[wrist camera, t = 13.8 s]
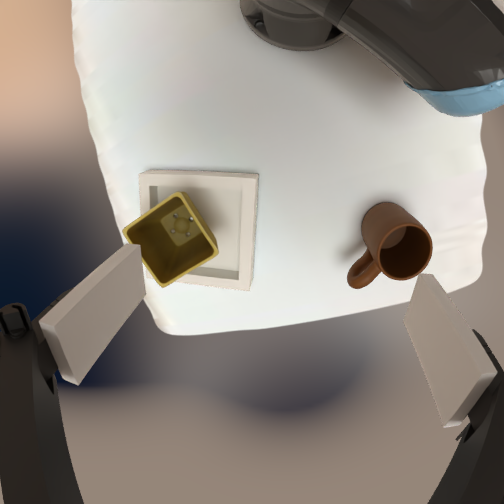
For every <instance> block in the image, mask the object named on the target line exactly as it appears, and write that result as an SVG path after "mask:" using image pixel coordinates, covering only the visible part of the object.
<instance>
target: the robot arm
mask: <svg viewBox="0 0 504 504" xmlns="http://www.w3.org/2000/svg"><path fill="white" fill-rule="evenodd" d="M240 8H241V11H242V14H243V16H244V18H245V20H246V22H247V24H248V25H249V27H250V28H251V29H252V30H253V31H254V32H255V33H256V34H257V35H258V36H259V37H260V38H262V39H263V40H265V41H267V42H268V43H270V44H273V45H275V46H278V47H281V48H284V49H288V50H295V51H311V50H317V49H321V48H325V47H327V46H330V45H332V44H334V43H336V42H337V41H339V40H340V39H341V38H342V37H344V36H345V35H346V34H347V35H348V36H349V37H351V38H352V39H354V40H355V41H356V42H358V43H359V44H360V45H362V46H363V47H364V48H366V49H367V50H368V51H369V52H371V53H372V54H373V55H375V56H376V57H377V58H378V59H379V60H381V61H382V62H383V63H384V64H386V65H387V66H388V67H389V68H390V69H391V70H393V71H394V72H395V73H396V74H397V75H398V76H399V77H401V78H402V79H403V80H404V83H405V84H406V85H407V86H408V87H409V88H410V89H411V90H413V91H415V92H417V93H418V94H420V95H421V96H422V97H423V98H424V99H425V100H426V101H427V102H428V103H429V104H430V105H431V106H432V107H434V108H435V109H436V110H438V111H439V112H441V113H445V114H447V115H450V116H454V117H469V116H475V115H479V114H482V113H485V112H488V111H491V110H493V109H495V108H497V107H500V106H501V105H503V104H504V0H240ZM145 295H146V290H145V282H144V274H143V266H142V257H141V248H140V245H137V244H125V245H124V246H123V247H122V248H120V250H118V251H117V252H116V253H114V254H113V255H112V256H111V257H110V258H108V259H107V260H106V261H105V262H104V263H102V264H101V265H100V266H99V267H98V268H97V269H95V270H94V271H93V272H92V273H91V274H90V275H89V276H87V277H86V278H85V279H84V280H83V281H82V282H81V283H79V284H78V285H77V286H76V287H75V288H72V289H70V290H68V291H66V292H64V293H62V294H61V295H60V296H59V297H58V298H57V299H56V301H53V302H52V303H51V304H50V306H48V307H47V308H46V309H45V310H44V311H43V312H42V313H41V314H39V315H38V316H37V317H36V318H35V319H34V320H33V321H32V322H31V321H30V318H29V316H28V314H27V310H26V308H25V306H24V305H23V304H20V303H12V304H9V305H6V306H5V307H3V308H1V310H0V329H1V331H2V332H0V479H1V487H2V494H3V500H4V504H84V502H83V499H82V496H81V493H80V490H79V487H78V484H77V481H76V477H75V473H74V470H73V467H72V463H71V459H70V454H69V451H68V446H67V442H66V437H65V432H64V427H63V422H62V416H61V410H60V404H59V397H58V389H57V382H56V378H55V376H54V373H55V371H56V370H57V369H59V371H60V373H61V375H62V377H63V379H64V380H67V381H69V382H72V383H74V384H77V385H79V384H80V382H81V381H82V379H83V378H84V377H85V375H86V374H87V372H88V371H89V370H90V368H91V367H92V365H93V364H94V363H95V361H96V360H97V358H98V357H99V356H100V354H101V353H102V352H103V350H104V349H105V347H106V346H107V345H108V343H109V342H110V341H111V339H112V338H113V337H114V335H115V334H116V333H117V331H118V330H119V329H120V327H121V326H122V325H123V324H124V322H125V321H126V320H127V318H128V317H129V316H130V314H131V313H132V312H133V310H134V309H135V308H136V307H137V305H138V304H139V303H140V301H141V300H142V299H143V298H144V296H145ZM403 323H404V325H405V327H406V330H407V332H408V334H409V337H410V339H411V341H412V344H413V345H414V349H415V351H416V353H417V355H418V358H419V361H420V363H421V366H422V368H423V371H424V374H425V376H426V379H427V382H428V384H429V387H430V390H431V392H432V395H433V398H434V401H435V404H436V407H437V410H438V412H439V416H440V419H441V422H442V425H443V427H444V428H445V427H451V426H457V425H460V424H461V422H462V421H463V420H464V419H465V417H466V416H467V415H468V417H469V419H470V423H469V424H468V425H467V426H466V427H465V429H464V430H463V431H462V432H461V434H460V435H459V436H458V437H457V438H456V440H457V441H458V439H460V437H462V438H461V440H460V442H459V445H458V447H457V449H456V451H455V453H454V456H453V458H452V460H451V462H450V464H449V466H448V468H447V470H446V472H445V474H444V476H443V477H442V479H441V481H440V483H439V485H438V487H437V488H436V490H435V492H434V494H433V495H432V497H431V499H430V500H429V502H428V504H504V371H503V369H502V368H501V366H500V364H499V363H498V361H497V359H496V358H495V356H494V355H493V354H492V351H491V350H490V348H489V347H488V345H487V343H486V342H485V340H484V339H483V337H482V336H481V335H480V334H479V333H477V332H476V331H475V330H474V329H473V330H472V329H471V328H470V326H469V325H468V323H467V322H466V320H465V319H464V317H463V316H462V315H461V313H460V311H459V310H458V309H457V307H456V306H455V305H454V303H453V302H452V300H451V299H450V297H449V296H448V295H447V293H446V292H445V290H444V289H443V288H442V286H441V285H440V284H439V282H438V281H437V280H436V278H435V277H434V276H433V275H432V274H422V273H419V275H418V279H417V282H416V285H415V288H414V291H413V294H412V297H411V300H410V303H409V306H408V309H407V312H406V315H405V317H404V320H403Z"/></svg>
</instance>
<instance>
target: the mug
mask: <svg viewBox="0 0 504 504" xmlns="http://www.w3.org/2000/svg"><path fill="white" fill-rule="evenodd" d="M362 236H363V239H364V242H365V244H366V246H367V250H366V252H365V253H364V254H363V256H362V257H361V258H360V259H358V260H357V261H356V262H355V263H354V264H353V265H352V267H351V268H350V270H349V272H348V275H347V282H348V284H349V286H351V287H352V288H355V289H360V288H363V287H365V286H367V285H368V284H370V283H371V282H372V281H373V280H374V279H375V278H376V277H377V276H378V274H379V273H380V272H383V274H385V275H386V276H387V277H389V278H391V279H394V280H408V279H411V278H413V277H415V276H417V275H418V274H419V273H421V272H422V271H423V270H424V269H425V268H426V266H427V265H428V263H429V261H430V259H431V256H432V248H433V247H432V240H431V237H430V235H429V233H428V232H427V230H426V229H425V228H424V227H423V225H422V224H421V223H420V222H419V221H417V220H416V219H415V218H414V217H413V216H412V215H411V214H409V213H408V212H407V211H406V210H405V209H403V208H402V207H401V206H399V205H397V204H394V203H381V204H378V205H376V206H374V207H373V208H371V209H370V210H369V211H368V213H367V214H366V215H365V217H364V220H363V223H362Z"/></svg>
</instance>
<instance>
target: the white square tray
mask: <svg viewBox="0 0 504 504" xmlns="http://www.w3.org/2000/svg"><path fill="white" fill-rule="evenodd" d="M258 180H259V174H248V173H232V172H213V171H187V170H148V171H145V172H143V173H140V174H139V194H140V211H141V216H142V215H143V214H144V213H146V212H147V211H149V210H150V209H152V208H153V207H155V206H156V205H157V204H159V203H160V202H162V201H163V200H165V199H166V198H167V197H169V196H170V195H172V194H173V193H175V192H177V191H181V192H186V193H187V194H188V196H189V197H190V199H191V200H192V202H193V204H194V205H195V207H196V208H197V210H198V212H199V213H200V215H201V216H202V218H203V219H204V221H205V222H206V224H207V225H208V227H209V228H210V230H211V231H212V233H213V234H214V236H215V238H216V240H217V245H218V250H219V254H218V255H217V256H216V257H214V258H213V259H211V260H209V261H208V262H206V263H204V264H203V265H201V266H199V267H197V268H196V269H194V270H192V271H191V272H189V273H187V274H186V275H184V276H182V277H181V278H179V279H177V280H176V281H174V282H179V283H187V284H194V285H202V286H210V287H218V288H226V289H234V290H243V291H250V287H251V284H252V280H253V265H254V248H255V231H256V214H257V197H258ZM174 217H175V218H177V217H178V215H177V214H174ZM189 220H190V221H193V218H192V217H190V218H189ZM171 232H172V233H174V232H175V230H174V229H172V230H171ZM186 235H187V236H190V233H189V232H188V233H186ZM146 275H147V278H151V279H154V278H153V276H152V275H151V274H150V272H149V271H148V269H147V268H146Z"/></svg>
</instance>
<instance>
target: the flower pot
mask: <svg viewBox="0 0 504 504" xmlns="http://www.w3.org/2000/svg"><path fill="white" fill-rule="evenodd" d="M174 214H177V215H178V217H177V218H175V217H174ZM190 217H192V218H193V221H190V220H189V218H190ZM172 229H174V230H175V232H174V233H172V232H171V230H172ZM122 232H123V235H124V236H125V238H126V239H127V241H128V242H129V244H137V245H140V248H141V257H142V262H143V264H144V265H145V267H146V268H147V269H148V271H149V272H150V274H151V275H152V276H153V278H154V279H155V281H156V282H157V283H158V284H159V285H160V286H161V287H162V288H164V287H166V286H168V285H170V284H171V283H173V282H174V281H176V280H177V279H179V278H181V277H182V276H184V275H186V274H187V273H189V272H191V271H192V270H194V269H196V268H197V267H199V266H201V265H203V264H204V263H206V262H208V261H209V260H211V259H213V258H214V257H216V256H217V255H218V254H219V250H218V245H217V240H216V238H215V236H214V234H213V233H212V231H211V230H210V228H209V227H208V225H207V224H206V222H205V221H204V219H203V218H202V216H201V215H200V213H199V212H198V210H197V208H196V207H195V205H194V204H193V202H192V200H191V199H190V197H189V196H188V194H187V193H186V192H181V191H177V192H175V193H173V194H172V195H170V196H169V197H167V198H166V199H165V200H163V201H162V202H160V203H159V204H157V205H156V206H155V207H153V208H152V209H150V210H149V211H147V212H146V213H144V214H143V215H142V216H140V217H139V218H137V219H136V220H135V221H133V222H132V223H130V224H129V225H128V226H126V227H125V228H124V229H123V230H122ZM188 232H189V233H190V236H187V235H186V233H188Z"/></svg>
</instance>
